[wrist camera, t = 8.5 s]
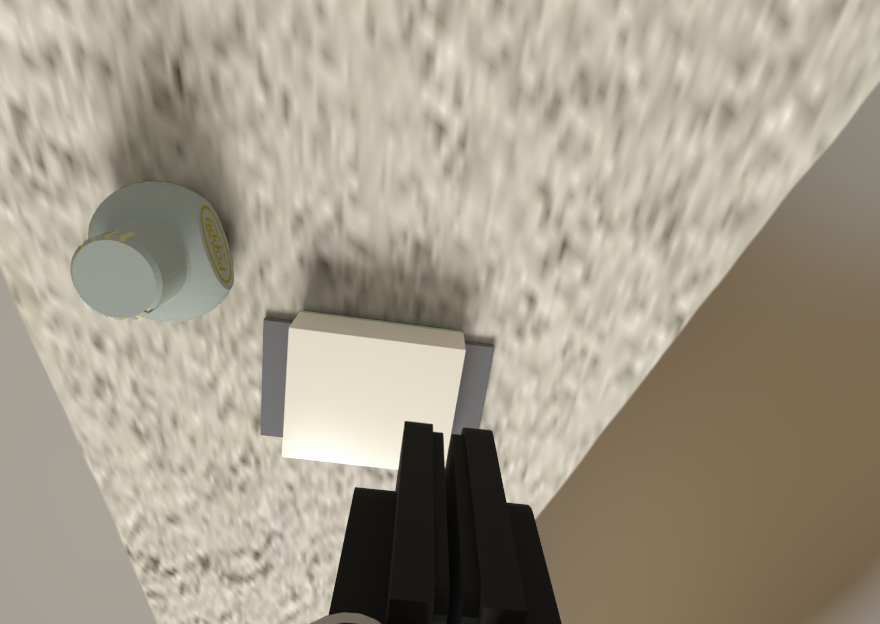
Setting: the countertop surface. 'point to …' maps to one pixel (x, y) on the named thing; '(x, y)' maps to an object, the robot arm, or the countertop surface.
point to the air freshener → (154, 255)
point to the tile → (366, 387)
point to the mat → (276, 367)
